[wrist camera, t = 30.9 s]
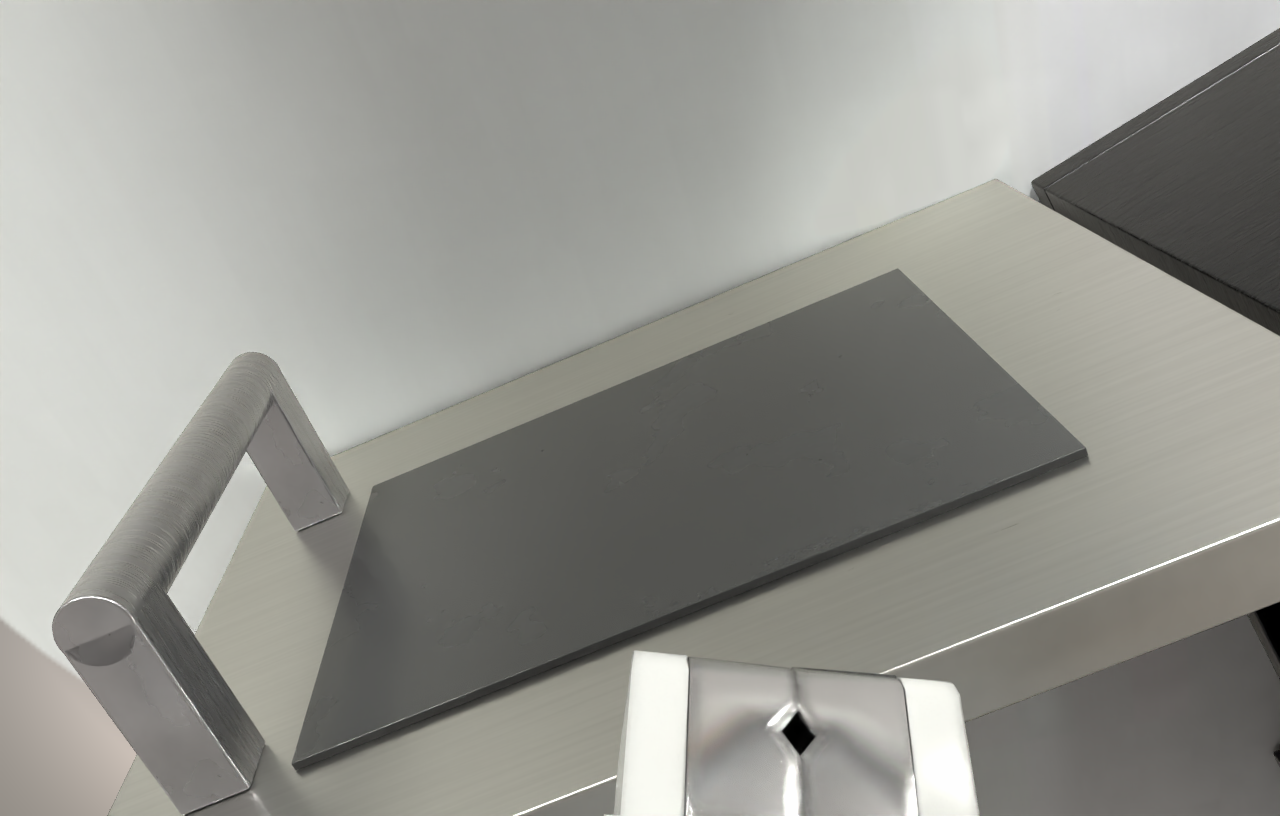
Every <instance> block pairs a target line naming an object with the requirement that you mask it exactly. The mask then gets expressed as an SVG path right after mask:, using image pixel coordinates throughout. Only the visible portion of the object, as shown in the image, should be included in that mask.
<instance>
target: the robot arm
mask: <svg viewBox="0 0 1280 816" xmlns="http://www.w3.org/2000/svg"><path fill="white" fill-rule="evenodd" d="M604 816H980V813H979V807H978V801H977V795H976V789H975V783H974V777H973V771H972V765H971V759H970V753H969V747H968V741H967V735H966V729H965V722H964V716H963V710H962V704H961V698H960V694H959V692H958V691H957V689H956V687H955V686H954V684H953V683H951V682H949V681H936V680H924V679H912V678H899V677H896V676H895V675H886V674H874V673H862V672H850V671H838V670H826V669H814V668H802V667H792V668H787V667H778V666H769V665H761V664H752V663H743V662H734V661H725V660H717V659H708V658H699V657H690V656H689V657H687V655H677V654H667V653H657V652H646V651H636V650H635V651H634V652H633V655H632V662H631V669H630V676H629V683H628V690H627V697H626V704H625V711H624V719H623V727H622V735H621V743H620V752H619V760H618V770H617V782H616V794H615V806H614V815H605V814H604Z"/></svg>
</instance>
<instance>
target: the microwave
mask: <svg viewBox="0 0 1280 816" xmlns="http://www.w3.org/2000/svg"><path fill="white" fill-rule="evenodd" d="M1031 183H1032V186H1033V188H1034V190H1035V192H1036V194H1037V196H1038V198H1039V200H1040V202H1041V204H1043V205H1045V206H1046V207H1048V208H1050V209H1052V210H1054V211H1055V212H1057V213H1059V214H1061V215H1063V216H1064V217H1066V218H1068V219H1070V220H1072V221H1073V222H1075V223H1077V224H1079V225H1081V226H1082V227H1084V228H1086V229H1088V230H1090V231H1091V232H1093V233H1095V234H1097V235H1099V236H1100V237H1102V238H1104V239H1106V240H1108V241H1109V242H1111V243H1113V244H1115V245H1117V246H1118V247H1120V248H1122V249H1124V250H1126V251H1127V252H1129V253H1131V254H1133V255H1135V256H1136V257H1138V258H1140V259H1142V260H1144V261H1145V262H1147V263H1149V264H1151V265H1153V266H1154V267H1156V268H1158V269H1160V270H1162V271H1164V272H1165V273H1167V274H1169V275H1171V276H1173V277H1174V278H1176V279H1178V280H1180V281H1182V282H1183V283H1185V284H1187V285H1189V286H1191V287H1192V288H1194V289H1196V290H1198V291H1200V292H1201V293H1203V294H1205V295H1207V296H1209V297H1210V298H1212V299H1214V300H1216V301H1218V302H1219V303H1221V304H1223V305H1225V306H1227V307H1228V308H1230V309H1232V310H1234V311H1236V312H1237V313H1239V314H1241V315H1243V316H1245V317H1246V318H1248V319H1250V320H1252V321H1254V322H1255V323H1257V324H1259V325H1261V326H1263V327H1264V328H1266V329H1268V330H1270V331H1272V332H1273V333H1275V334H1277V335H1279V336H1280V28H1279V29H1278V30H1276V31H1274V32H1273V33H1271V34H1269V35H1268V36H1266V37H1265V38H1263V39H1261V40H1260V41H1258V42H1257V43H1255V44H1253V45H1252V46H1250V47H1248V48H1247V49H1245V50H1244V51H1242V52H1240V53H1239V54H1237V55H1235V56H1234V57H1232V58H1231V59H1229V60H1227V61H1226V62H1224V63H1223V64H1221V65H1219V66H1218V67H1216V68H1214V69H1213V70H1211V71H1210V72H1208V73H1206V74H1205V75H1203V76H1201V77H1200V78H1198V79H1197V80H1195V81H1193V82H1192V83H1190V84H1189V85H1187V86H1185V87H1184V88H1182V89H1180V90H1179V91H1177V92H1176V93H1174V94H1172V95H1171V96H1169V97H1167V98H1166V99H1164V100H1163V101H1161V102H1159V103H1158V104H1156V105H1155V106H1153V107H1151V108H1150V109H1148V110H1146V111H1145V112H1143V113H1142V114H1140V115H1138V116H1137V117H1135V118H1133V119H1132V120H1130V121H1129V122H1127V123H1125V124H1124V125H1122V126H1121V127H1119V128H1117V129H1116V130H1114V131H1112V132H1111V133H1109V134H1108V135H1106V136H1104V137H1103V138H1101V139H1099V140H1098V141H1096V142H1095V143H1093V144H1091V145H1090V146H1088V147H1087V148H1085V149H1083V150H1082V151H1080V152H1078V153H1077V154H1075V155H1074V156H1072V157H1070V158H1069V159H1067V160H1065V161H1064V162H1062V163H1061V164H1059V165H1057V166H1056V167H1054V168H1052V169H1051V170H1049V171H1048V172H1046V173H1044V174H1043V175H1041V176H1040V177H1038V178H1036V179H1035V180H1033V181H1032V182H1031ZM1247 615H1248V617H1249V619H1250V621H1251V623H1252V625H1253V627H1254V629H1255V631H1256V633H1257V635H1258V637H1259V639H1260V641H1261V643H1262V645H1263V647H1264V649H1265V651H1266V653H1267V655H1268V657H1269V659H1270V661H1271V663H1272V665H1273V667H1274V669H1275V671H1276V673H1277V675H1278V677H1279V679H1280V602H1279V603H1276V604H1273V605H1271V606H1268V607H1265V608H1263V609H1260V610H1258V611H1255V612H1252V613H1250V614H1247ZM1273 754H1274V757H1275V759H1276V761H1277V762H1278V764H1279V766H1280V749H1279V750H1278V751H1276V752H1274V753H1273Z"/></svg>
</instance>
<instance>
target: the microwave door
mask: <svg viewBox="0 0 1280 816" xmlns="http://www.w3.org/2000/svg"><path fill="white" fill-rule="evenodd" d="M246 451H247V453H248V454H249V456H250V458H251V459H252V461H253V463H254V464H255V466H256V468H257V469H258V471H259V473H260V474H261V476H262V478H263V479H264V481H265V483H266V484H267V486H266V488H265V490H264V492H263V494H262V497H261V499H260V501H259V503H258V505H257V507H256V509H255V511H254V513H253V515H252V517H251V519H250V521H249V523H248V526H247V528H246V530H245V532H244V534H243V536H242V538H241V540H240V542H239V544H238V546H237V548H236V550H235V552H234V555H233V557H232V559H231V561H230V563H229V565H228V567H227V569H226V571H225V573H224V575H223V577H222V579H221V581H220V584H219V586H218V588H217V590H216V592H215V594H214V596H213V598H212V600H211V602H210V604H209V606H208V608H207V610H206V613H205V615H204V617H203V619H202V621H201V623H200V625H199V627H198V629H197V631H196V633H195V635H194V634H193V632H192V631H191V629H190V628H189V626H188V625H187V623H186V622H185V620H184V619H183V617H182V616H181V614H180V613H179V611H178V610H177V608H176V607H175V605H174V604H173V602H172V601H171V599H170V598H169V596H168V595H167V593H168V591H169V589H170V587H171V586H172V584H173V582H174V580H175V578H176V577H177V575H178V573H179V571H180V569H181V568H182V566H183V564H184V562H185V560H186V559H187V557H188V555H189V553H190V551H191V550H192V548H193V546H194V544H195V542H196V540H197V539H198V537H199V535H200V533H201V531H202V530H203V528H204V526H205V524H206V522H207V521H208V519H209V517H210V515H211V513H212V512H213V510H214V508H215V506H216V504H217V503H218V501H219V499H220V497H221V495H222V494H223V492H224V490H225V488H226V486H227V485H228V483H229V481H230V479H231V477H232V475H233V474H234V472H235V470H236V468H237V466H238V465H239V463H240V461H241V459H242V457H243V456H244V454H245V452H246ZM1279 602H1280V336H1279V335H1277V334H1275V333H1273V332H1272V331H1270V330H1268V329H1266V328H1264V327H1263V326H1261V325H1259V324H1257V323H1255V322H1254V321H1252V320H1250V319H1248V318H1246V317H1245V316H1243V315H1241V314H1239V313H1237V312H1236V311H1234V310H1232V309H1230V308H1228V307H1227V306H1225V305H1223V304H1221V303H1219V302H1218V301H1216V300H1214V299H1212V298H1210V297H1209V296H1207V295H1205V294H1203V293H1201V292H1200V291H1198V290H1196V289H1194V288H1192V287H1191V286H1189V285H1187V284H1185V283H1183V282H1182V281H1180V280H1178V279H1176V278H1174V277H1173V276H1171V275H1169V274H1167V273H1165V272H1164V271H1162V270H1160V269H1158V268H1156V267H1154V266H1153V265H1151V264H1149V263H1147V262H1145V261H1144V260H1142V259H1140V258H1138V257H1136V256H1135V255H1133V254H1131V253H1129V252H1127V251H1126V250H1124V249H1122V248H1120V247H1118V246H1117V245H1115V244H1113V243H1111V242H1109V241H1108V240H1106V239H1104V238H1102V237H1100V236H1099V235H1097V234H1095V233H1093V232H1091V231H1090V230H1088V229H1086V228H1084V227H1082V226H1081V225H1079V224H1077V223H1075V222H1073V221H1072V220H1070V219H1068V218H1066V217H1064V216H1063V215H1061V214H1059V213H1057V212H1055V211H1054V210H1052V209H1050V208H1048V207H1046V206H1045V205H1043V204H1041V203H1039V202H1037V201H1036V200H1034V199H1032V198H1030V197H1028V196H1027V195H1025V194H1023V193H1021V192H1019V191H1018V190H1016V189H1014V188H1012V187H1010V186H1009V185H1007V184H1005V183H1003V182H1001V181H1000V180H998V179H994V180H992V181H989V182H987V183H984V184H982V185H980V186H977V187H975V188H973V189H970V190H968V191H965V192H963V193H961V194H958V195H956V196H953V197H951V198H949V199H946V200H944V201H941V202H939V203H937V204H934V205H932V206H929V207H927V208H925V209H922V210H920V211H918V212H915V213H913V214H910V215H908V216H906V217H903V218H901V219H898V220H896V221H894V222H891V223H889V224H886V225H884V226H882V227H879V228H877V229H875V230H872V231H870V232H867V233H865V234H863V235H860V236H858V237H855V238H853V239H851V240H848V241H846V242H843V243H841V244H839V245H836V246H834V247H831V248H829V249H827V250H824V251H822V252H820V253H817V254H815V255H812V256H810V257H808V258H805V259H803V260H800V261H798V262H796V263H793V264H791V265H788V266H786V267H784V268H781V269H779V270H776V271H774V272H772V273H769V274H767V275H765V276H762V277H760V278H757V279H755V280H753V281H750V282H748V283H745V284H743V285H741V286H738V287H736V288H733V289H731V290H729V291H726V292H724V293H722V294H719V295H717V296H714V297H712V298H710V299H707V300H705V301H702V302H700V303H698V304H695V305H693V306H690V307H688V308H686V309H683V310H681V311H678V312H676V313H674V314H671V315H669V316H667V317H664V318H662V319H659V320H657V321H655V322H652V323H650V324H647V325H645V326H643V327H640V328H638V329H635V330H633V331H631V332H628V333H626V334H624V335H621V336H619V337H616V338H614V339H612V340H609V341H607V342H604V343H602V344H600V345H597V346H595V347H592V348H590V349H588V350H585V351H583V352H580V353H578V354H576V355H573V356H571V357H569V358H566V359H564V360H561V361H559V362H557V363H554V364H552V365H549V366H547V367H545V368H542V369H540V370H537V371H535V372H533V373H530V374H528V375H525V376H523V377H521V378H518V379H516V380H514V381H511V382H509V383H506V384H504V385H502V386H499V387H497V388H494V389H492V390H490V391H487V392H485V393H482V394H480V395H478V396H475V397H473V398H471V399H468V400H466V401H463V402H461V403H459V404H456V405H454V406H451V407H449V408H447V409H444V410H442V411H439V412H437V413H435V414H432V415H430V416H427V417H425V418H423V419H420V420H418V421H416V422H413V423H411V424H408V425H406V426H404V427H401V428H399V429H396V430H394V431H392V432H389V433H387V434H384V435H382V436H380V437H377V438H375V439H373V440H370V441H368V442H365V443H363V444H361V445H358V446H356V447H353V448H351V449H349V450H346V451H344V452H341V453H339V454H337V455H334V456H332V457H330V456H329V454H328V452H327V450H326V449H325V447H324V445H323V443H322V442H321V440H320V438H319V437H318V435H317V433H316V431H315V430H314V428H313V426H312V424H311V423H310V421H309V419H308V417H307V416H306V414H305V412H304V410H303V409H302V407H301V405H300V403H299V402H298V400H297V398H296V396H295V395H294V393H293V391H292V389H291V388H290V386H289V384H288V383H287V381H286V379H285V377H284V376H283V374H282V372H281V370H280V368H279V366H278V365H277V363H276V362H275V361H274V360H273V359H271V358H270V357H268V356H267V355H264V354H261V353H257V352H248V353H244V354H241V355H239V356H238V357H236V358H235V359H234V360H233V361H232V362H231V364H230V365H229V366H228V368H227V369H226V371H225V372H224V374H223V375H222V376H221V378H220V379H219V381H218V382H217V384H216V385H215V386H214V388H213V389H212V391H211V392H210V394H209V395H208V396H207V398H206V399H205V401H204V402H203V404H202V405H201V407H200V408H199V409H198V411H197V412H196V414H195V415H194V417H193V418H192V419H191V421H190V422H189V424H188V425H187V427H186V428H185V429H184V431H183V432H182V434H181V435H180V437H179V438H178V439H177V441H176V442H175V444H174V445H173V447H172V448H171V449H170V451H169V452H168V454H167V455H166V457H165V458H164V459H163V461H162V462H161V464H160V465H159V467H158V468H157V469H156V471H155V472H154V474H153V475H152V477H151V478H150V479H149V481H148V482H147V484H146V485H145V487H144V488H143V489H142V491H141V492H140V494H139V495H138V497H137V498H136V499H135V501H134V502H133V504H132V505H131V507H130V508H129V509H128V511H127V512H126V514H125V515H124V517H123V518H122V519H121V521H120V522H119V524H118V525H117V527H116V528H115V529H114V531H113V532H112V534H111V535H110V537H109V538H108V539H107V541H106V542H105V544H104V545H103V547H102V548H101V549H100V551H99V552H98V554H97V555H96V557H95V558H94V559H93V561H92V562H91V564H90V565H89V567H88V568H87V569H86V571H85V572H84V574H83V575H82V577H81V578H80V579H79V581H78V582H77V584H76V585H75V587H74V588H73V590H72V591H71V592H70V594H69V595H68V597H67V598H66V600H65V601H64V602H63V604H62V605H61V607H60V608H59V610H58V611H57V613H56V614H55V617H54V619H53V624H52V631H53V636H54V640H55V642H56V644H57V646H58V647H59V649H60V650H61V651H62V652H63V653H64V654H65V656H66V657H67V659H68V660H69V661H70V663H71V664H72V665H73V667H74V668H75V670H76V671H77V672H78V674H79V675H80V676H81V678H82V679H83V681H84V682H85V683H86V685H87V686H88V687H89V689H90V690H91V691H92V693H93V694H94V696H95V697H96V698H97V700H98V701H99V703H100V704H101V705H102V707H103V708H104V709H105V711H106V712H107V714H108V715H109V716H110V718H111V719H112V720H113V722H114V723H115V724H116V726H117V727H118V729H119V730H120V731H121V733H122V734H123V735H124V737H125V738H126V739H127V741H128V742H129V744H130V745H131V746H132V748H133V749H134V751H135V752H136V753H137V755H136V758H135V760H134V762H133V764H132V766H131V768H130V770H129V772H128V774H127V776H126V778H125V780H124V783H123V785H122V787H121V789H120V791H119V793H118V795H117V797H116V799H115V801H114V803H113V805H112V807H111V809H110V811H109V814H108V815H107V816H604V814H605V815H614V806H615V794H616V782H617V770H618V760H619V752H620V743H621V735H622V727H623V719H624V711H625V704H626V697H627V690H628V683H629V676H630V669H631V662H632V655H633V652H634V651H635V650H636V651H646V652H657V653H667V654H677V655H687V657H689V656H690V657H699V658H708V659H717V660H725V661H734V662H743V663H752V664H761V665H769V666H778V667H787V668H792V667H802V668H814V669H826V670H838V671H850V672H862V673H874V674H886V675H895V676H896V677H899V678H912V679H924V680H936V681H949V682H951V683H953V684H954V686H955V687H956V689H957V691H958V692H959V694H960V698H961V704H962V710H963V716H964V722H968V721H970V720H973V719H976V718H978V717H981V716H983V715H986V714H989V713H991V712H994V711H996V710H999V709H1002V708H1004V707H1007V706H1010V705H1012V704H1015V703H1017V702H1020V701H1023V700H1025V699H1028V698H1030V697H1033V696H1036V695H1038V694H1041V693H1043V692H1046V691H1049V690H1051V689H1054V688H1057V687H1059V686H1062V685H1064V684H1067V683H1070V682H1072V681H1075V680H1077V679H1080V678H1083V677H1085V676H1088V675H1091V674H1093V673H1096V672H1098V671H1101V670H1104V669H1106V668H1109V667H1111V666H1114V665H1117V664H1119V663H1122V662H1124V661H1127V660H1130V659H1132V658H1135V657H1138V656H1140V655H1143V654H1145V653H1148V652H1151V651H1153V650H1156V649H1158V648H1161V647H1164V646H1166V645H1169V644H1171V643H1174V642H1177V641H1179V640H1182V639H1185V638H1187V637H1190V636H1192V635H1195V634H1198V633H1200V632H1203V631H1205V630H1208V629H1211V628H1213V627H1216V626H1218V625H1221V624H1224V623H1226V622H1229V621H1232V620H1234V619H1237V618H1239V617H1242V616H1245V615H1247V614H1250V613H1252V612H1255V611H1258V610H1260V609H1263V608H1265V607H1268V606H1271V605H1273V604H1276V603H1279Z"/></svg>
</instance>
